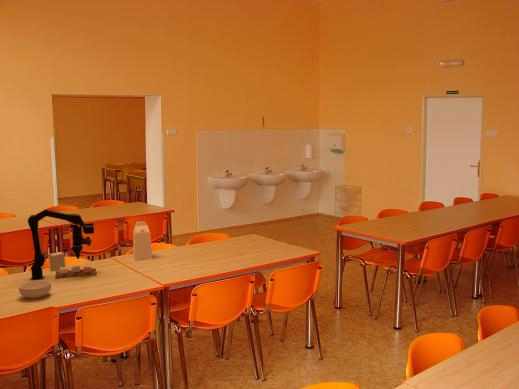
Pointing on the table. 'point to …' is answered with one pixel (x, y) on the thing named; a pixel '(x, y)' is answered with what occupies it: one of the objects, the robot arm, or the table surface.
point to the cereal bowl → (35, 288)
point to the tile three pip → (87, 269)
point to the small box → (56, 261)
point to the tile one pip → (63, 270)
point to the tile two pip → (75, 269)
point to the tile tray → (75, 274)
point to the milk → (141, 242)
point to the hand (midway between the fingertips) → (78, 258)
